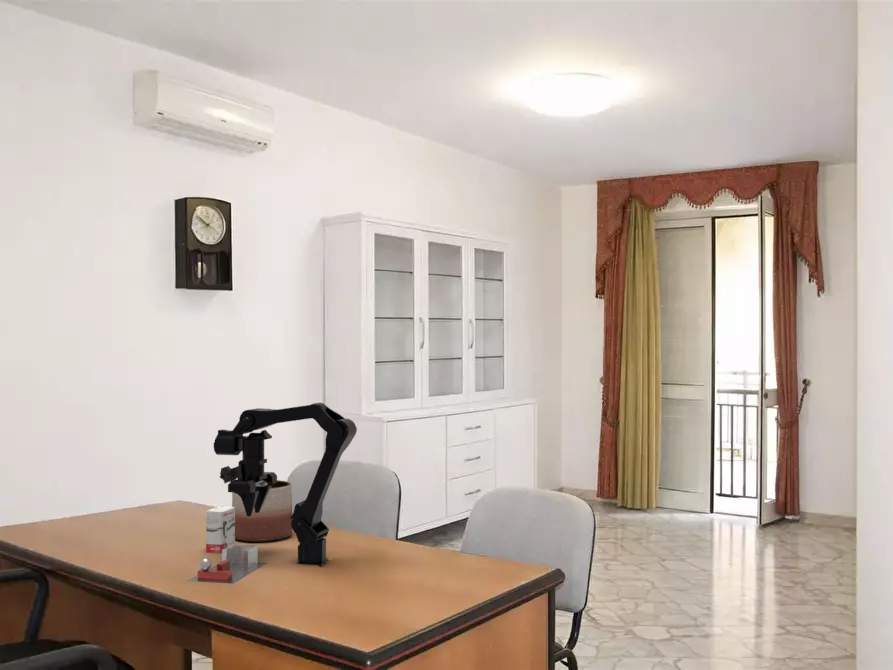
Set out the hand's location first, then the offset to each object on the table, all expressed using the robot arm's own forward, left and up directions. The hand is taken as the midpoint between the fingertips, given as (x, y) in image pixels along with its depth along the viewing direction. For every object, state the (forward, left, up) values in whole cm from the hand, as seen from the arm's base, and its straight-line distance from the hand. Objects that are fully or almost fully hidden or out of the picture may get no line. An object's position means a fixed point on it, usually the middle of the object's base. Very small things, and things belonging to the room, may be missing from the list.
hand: (253, 514), depth 227 cm
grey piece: (0, +15, -12) cm, 19 cm away
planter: (+9, -27, -12) cm, 31 cm away
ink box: (+13, -8, -12) cm, 19 cm away
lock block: (0, +8, -12) cm, 14 cm away
